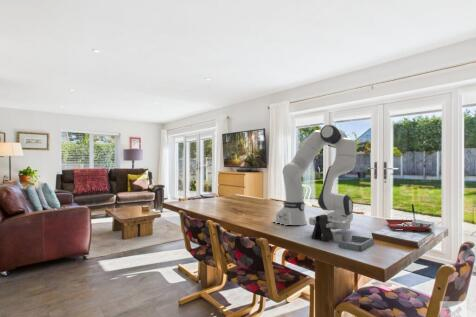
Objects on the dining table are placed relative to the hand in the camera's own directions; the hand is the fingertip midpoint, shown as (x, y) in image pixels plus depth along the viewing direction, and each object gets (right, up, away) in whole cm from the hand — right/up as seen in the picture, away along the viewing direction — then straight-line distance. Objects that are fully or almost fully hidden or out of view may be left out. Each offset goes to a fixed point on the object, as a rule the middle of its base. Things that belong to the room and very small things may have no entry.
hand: (321, 225), depth 137 cm
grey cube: (+7, -7, -6) cm, 11 cm away
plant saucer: (+54, -6, +18) cm, 57 cm away
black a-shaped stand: (+1, -7, 0) cm, 7 cm away
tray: (+12, -6, -11) cm, 18 cm away
